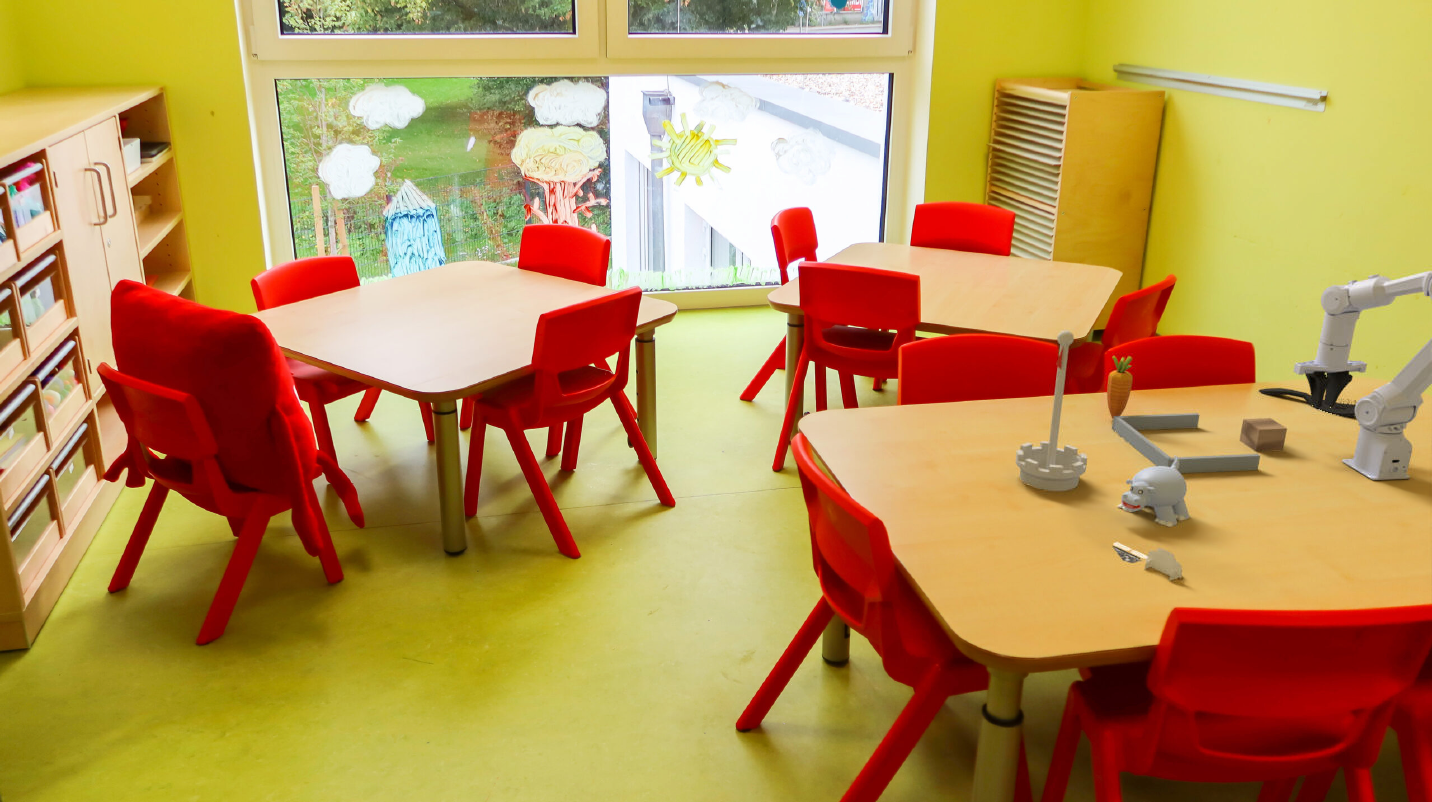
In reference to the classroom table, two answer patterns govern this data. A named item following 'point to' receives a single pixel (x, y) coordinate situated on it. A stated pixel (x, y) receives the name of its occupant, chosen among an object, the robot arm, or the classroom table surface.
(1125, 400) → the carrot
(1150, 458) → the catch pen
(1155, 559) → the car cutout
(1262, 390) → the hairbrush
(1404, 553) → the classroom table surface
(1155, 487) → the hippopotamus toy
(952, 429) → the classroom table surface
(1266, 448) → the walnut block
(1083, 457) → the flag stand
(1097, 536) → the classroom table surface
